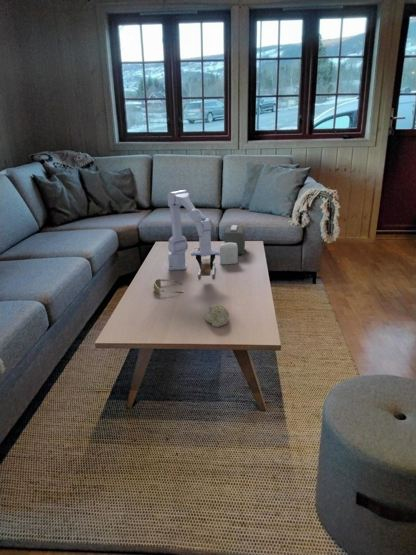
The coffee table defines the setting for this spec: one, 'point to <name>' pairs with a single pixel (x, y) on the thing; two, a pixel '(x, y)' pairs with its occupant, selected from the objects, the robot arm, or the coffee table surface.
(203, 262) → the walnut block
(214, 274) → the channel
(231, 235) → the alarm clock
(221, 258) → the photo printer
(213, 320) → the decorative item
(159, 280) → the sunglasses
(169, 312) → the coffee table surface
